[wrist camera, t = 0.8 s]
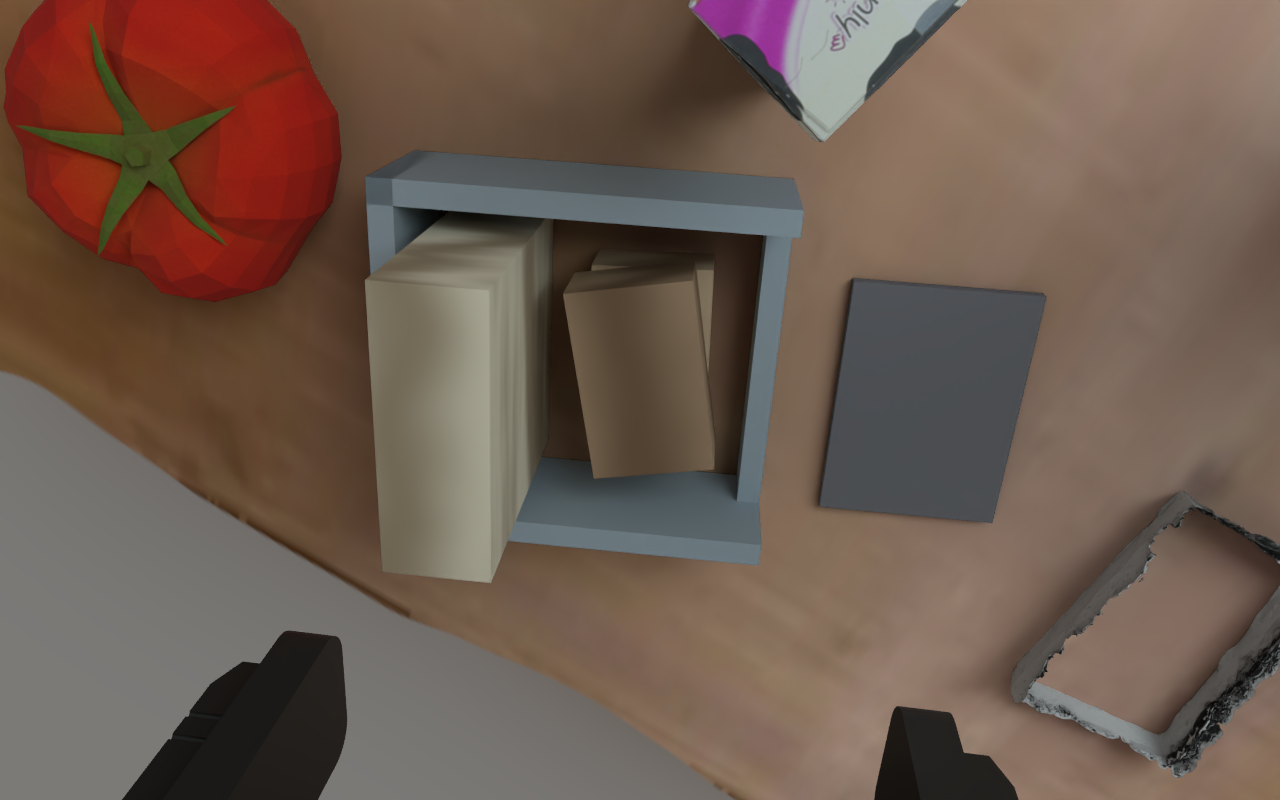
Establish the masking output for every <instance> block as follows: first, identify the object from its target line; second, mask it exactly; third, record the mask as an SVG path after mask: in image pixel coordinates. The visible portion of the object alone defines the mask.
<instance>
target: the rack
mask: <svg viewBox="0 0 1280 800" xmlns="http://www.w3.org/2000/svg"><path fill="white" fill-rule="evenodd" d="M365 186H366V204H367V221H368V239H369V256H370V274H371V275H372V274H373V273H374V272H375V271H377V270H378V269H379V268H380V267H381V266H383V265H384V264H385V263H386V262H388V261H389V260H390V259H391V258H393V257H394V256H395V255H396V254H397V253H399V252H400V251H401V250H402V249H404V248H405V247H406V246H407V245H409V244H410V243H411V242H412V241H413V240H415V239H416V238H417V237H418V236H420V235H421V234H422V233H423V232H425V231H426V230H427V229H428V228H429V227H431V226H432V225H433V224H434V223H436V222H437V221H438V220H439V210H448V211H461V212H474V213H486V214H499V215H512V216H525V217H537V218H550V219H563V220H576V221H588V222H601V223H614V224H627V225H639V226H652V227H665V228H678V229H690V230H703V231H716V232H729V233H741V234H754V235H763V243H762V252H761V261H760V270H759V279H758V288H757V297H756V306H755V315H754V323H753V332H752V341H751V350H750V359H749V368H748V377H747V386H746V395H745V404H744V413H743V422H742V431H741V440H740V449H739V457H738V466H737V475H730V474H720V473H709V472H698V471H687V472H674V473H661V474H648V475H635V476H622V477H609V478H596V479H594V477H593V471H592V465H591V462H590V461H579V460H568V459H558V458H547V457H541V459H540V462H539V464H538V467H537V469H536V472H535V474H534V477H533V479H532V482H531V484H530V487H529V489H528V492H527V494H526V497H525V499H524V502H523V504H522V507H521V509H520V512H519V514H518V517H517V519H516V522H515V524H514V527H513V529H512V532H511V534H510V537H509V539H508V541H513V542H524V543H534V544H544V545H554V546H565V547H575V548H585V549H595V550H605V551H616V552H626V553H636V554H646V555H657V556H667V557H677V558H687V559H698V560H708V561H718V562H728V563H738V564H749V565H759V559H760V551H761V530H760V511H759V500H760V492H761V484H762V476H763V468H764V460H765V452H766V444H767V436H768V428H769V420H770V411H771V403H772V395H773V387H774V379H775V371H776V363H777V355H778V347H779V339H780V331H781V323H782V315H783V307H784V299H785V291H786V283H787V275H788V267H789V259H790V251H791V243H792V237H793V238H801V231H802V223H803V215H804V209H803V206H802V202H801V199H800V196H799V193H798V190H797V186H796V183H795V180H794V179H789V178H775V177H762V176H749V175H735V174H722V173H709V172H695V171H682V170H669V169H655V168H642V167H629V166H615V165H602V164H589V163H575V162H562V161H549V160H535V159H522V158H509V157H495V156H482V155H469V154H455V153H442V152H429V151H415V150H414V151H412V152H411V153H409V154H407V155H405V156H403V157H401V158H399V159H397V160H396V161H394V162H392V163H390V164H388V165H386V166H384V167H383V168H381V169H379V170H377V171H375V172H373V173H371V174H369V175H368V176H366V177H365Z"/></svg>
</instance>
